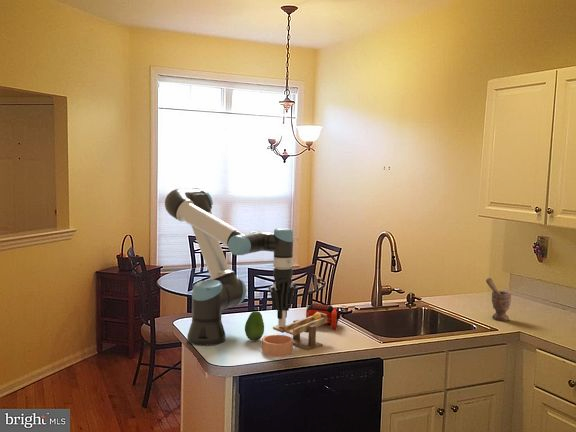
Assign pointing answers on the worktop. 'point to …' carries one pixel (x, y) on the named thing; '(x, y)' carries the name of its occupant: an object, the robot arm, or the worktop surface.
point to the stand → (305, 342)
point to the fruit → (254, 326)
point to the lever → (302, 325)
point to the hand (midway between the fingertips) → (281, 326)
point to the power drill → (331, 313)
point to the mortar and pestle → (499, 302)
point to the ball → (317, 316)
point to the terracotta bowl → (277, 345)
